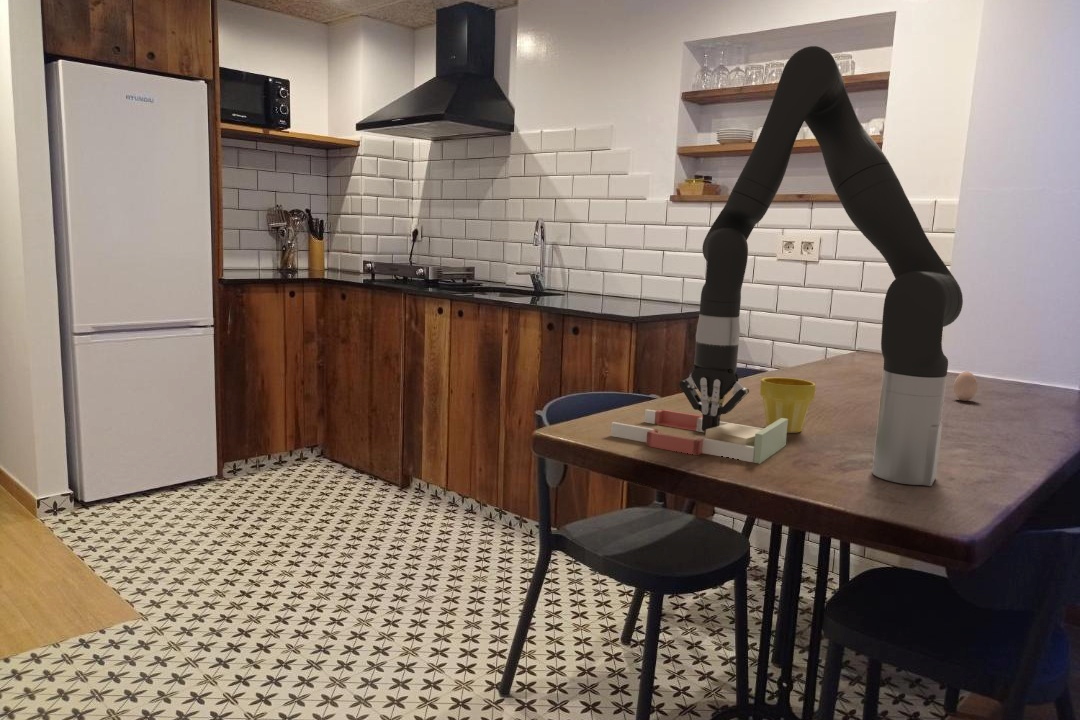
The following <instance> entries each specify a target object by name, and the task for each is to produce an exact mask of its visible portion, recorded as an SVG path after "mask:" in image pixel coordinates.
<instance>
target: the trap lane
mask: <svg viewBox="0 0 1080 720" xmlns="http://www.w3.org/2000/svg"><path fill="white" fill-rule="evenodd" d="M702 418H703V415H699V414H695V413H694V414H692V413H687V412H680V411H675V410H668V409H663V408H662V409H661V408H660V409H658V410H653V409H647V408H646V409H645V410H644V423H648V424H653V425H658V426H666V427H670V428H676V429H682V430H686V431H688V430H689V431H693V432H700V433H704V431H702ZM729 423H731V424H734V423H732V422H727V421H721V420H720V425H719V426H721V425H725V424H729ZM735 424H736V425H740V426H745V427H750V428H754V429H759V430H760V431H759V432H757V433H755V444H754V447H752V446H747V445H741V444H735V443H730V442H724V441H718V440H713V439H707V438H705V437H701V436H700V437H699V438H697V439H694V438H689V437H688V438H687V437H682V436H677V435H672V434H665V433H660V432H659V429H655V428H649V427H644V426H638V425H633V424H626V423H622V422H616V421H612V422H611V424H610V425H611V426H610V427H611V429H610V437H615V438H621V439H625V440H630V441H635V442H642V443H646V447H650V448H657V449H661V450H667V451H673V452H676V451H677V453H681V452H682V454H687V453H688V455H692V454H693V456H697V455H698V456H699V455H701V454H705V455H710V456H711V455H712V456H715V457H716V456H717V457H721V456H723V457H722V458H726V457H729V458H728V459H732V458H734V459H733V460H737V459H739V460H738V461H742V462H743V461H744V462H749V463H755V464H759V465H760V464H762V463H763V462H765V461H766V460H767V459H769V458H770V457H772V456H773V455H774V454H776V453H777V452H779V451H780V450H782V449H783V448H784V447H786V443H787V434H788V433H787V425H788V419H785V418H780V419H779V420H777V421H775V422H774V423H772V424H770V425H769V426H767V425H766V427H764V428H763V427H758V426H751V425H746V424H740V423H739V424H738V423H735Z"/></svg>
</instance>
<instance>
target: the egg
mask: <svg viewBox="0 0 1080 720" xmlns="http://www.w3.org/2000/svg"><path fill="white" fill-rule="evenodd" d="M978 386H979V385H978V381H977V378H976V376H975V375H974V374H973V373H972V372H970V371H963V372H961V373H960V374H959V375H957V377H956V379H955V380H954V383H953V387H952V388H953V392H954V395H955V396H956V398H957V399H958V400H960V401H962V402H968V401H970V400H972V399H973V398H974V397H975V396H976V394H977V393H978V388H979V387H978Z"/></svg>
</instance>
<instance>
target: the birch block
mask: <svg viewBox="0 0 1080 720" xmlns="http://www.w3.org/2000/svg"><path fill="white" fill-rule="evenodd" d="M728 423H729V424H725V425H721V426H717V427H713V428H710V429H706V435H705V434H704V435H705V436H704V438H707V439H713V440H718V441H724V442H730V443H735V444H741V445H747V446H752V447H754V444H755V433H757V432H759V431H760V430H759V429H754V428H750V427H745V426H740V425H741V424H740V425H736V424H737V423H733V424H731V423H732V422H728Z"/></svg>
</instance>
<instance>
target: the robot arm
mask: <svg viewBox="0 0 1080 720" xmlns="http://www.w3.org/2000/svg"><path fill="white" fill-rule="evenodd" d="M842 75H843V74H842V70H841V69H840V67H839V64H838V62H837V60H836V58H835V56H834V55H833V53H831V52H830V51H829V50H828V49H826V48H824V47H822V46H819V45H811V46H806V47H803V48H801V49H799V50H798V51H796V52H794V53H793V54H792V55H791V56H790V57H789V58H788V60H787V62H786V63H785V65H784V67H783V70H782V72H781V75H780V78H779V80H778V85H777V87H776V90H775V93H774V96H773V99H772V102H771V104H770V107H769V110H768V113H767V115H766V118H765V121H764V123H763V125H762V128H761V130H760V133H759V135H758V138H757V139H756V142H755V144H754V146H753V148H752V150H751V152H750V155H749V157H748V159H747V161H746V163H745V165H744V166H743V168H742V170H741V173H740V174H739V176H738V178H737V179H736V181H735V184H734V186H733V188H732V189H731V192H730V193H729V194H730V195H729V196H728V199H727V201H726V202H725V205H724V206H723V208H722V209H721V211H720V212H719V214H718V216H717V217H716V218H715V220H714V222H713V223H712V225H711V226H710V228H709V230H708V232H707V234H706V236H705V238H704V240H703V242H702V254H703V257H704V260H705V261H706V273H705V282H704V284H703V286H702V289H701V293H700V302H699V315H698V316H699V317H698V321H697V324H696V332H695V348H694V352H695V353H694V361H693V362H694V364H693V365H694V366H693V368H692V371H691V373H690V376H689V377H687V378H686V379H683V380H681V381H679V384H678V385H679V387H680V389H681V390H682V392H683V394H684V396H685V397H686V398H687V400H688V402H689V404H690V405H691V407H692V409H694V410H695V411H699V412H700V413H702V414H701V415H702V416H703V418H702V431H704V432H703V433H704V435H706V429H710V428H713V427H717V426H719V425H720V421H721V416H722V415H726V414H728V413H730V412H731V411H733V409H734V408H735V407H736V406H737V405H738V404H739V403H740V402H741V401H742V400H743V399H744V398H745V397H746V396H747V395H748V394H749V392H750V390H749V388H748V387H744V386H743V385H742V384H741V383H740V382H739V376H738V374H737V367H738V355H739V344H740V343H739V342H740V333H741V332H740V331H741V327H740V314H741V302H742V301H741V300H742V295H741V294H742V287H743V283H744V279H745V274H746V270H747V264H748V257H749V246H748V239H749V238H750V237H749V236H751V233H752V232H753V230H754V228H755V227H756V225H757V224H758V223H760V222H761V220H762V219H763V218H764V217H765V215H766V214H767V212H768V210H769V208H770V207H771V205H772V202H773V201H774V198H775V197H776V194H777V193H778V191H779V188H780V186H781V184H782V183H783V180H784V177H785V175H786V171H787V169H788V166H789V162H790V159H791V155H792V152H793V148H794V145H795V142H796V140H797V137H798V135H799V132H800V130H801V128H802V127H803V125H804V123H805V124H806V125H807V126H808V128H809V130H810V132H811V133H812V135H813V137H814V138H815V140H816V141H817V144H818V146H819V148H820V151H821V155H822V157H823V160H824V164H825V168H826V171H827V174H828V176H829V179H830V182H831V185H832V186H833V189H834V192H835V193H836V195H837V197H838V199H839V201H840V203H841V205H842V207H843V209H844V211H845V213H846V214H847V216H848V218H849V219H850V221H851V222H852V223H853V225H854V226H855V227H856V228H857V229H858V230H859V232H860V233H862V235H863V236H864V237H865V238H866V239H867V241H868V242H869V243H870V244H871V245H872V246H874V248H875V249H876V250H877V251H878V252H879V253H880V254H881V256H882V257H883V258H884V260H885V262H886V263H887V265H888V266H889V269H890V270H891V273H892V274H893V276H894V278H895V279H894V280H893V281H892V282H891V284H890V285H889V287H888V289H887V291H886V294H885V297H884V303H883V310H882V323H881V325H882V326H881V339H880V348H881V354H882V357H883V370H882V376H881V377H882V378H881V388H880V393H879V394H880V396H879V403H878V413H877V423H876V424H877V425H876V433H875V441H874V450H873V451H874V452H873V458H872V468H871V470H872V471H871V473H872V475H874V476H875V477H877V478H880V479H882V480H885V481H888V482H893V483H898V484H902V485H903V484H904V485H913V486H914V485H915V486H919V485H920V486H927V487H932V486H933V484H934V482H935V481H936V478H937V473H938V472H937V471H938V462H939V454H940V446H941V445H940V444H941V437H942V431H943V420H942V417H943V409H944V408H943V407H944V401H945V394H946V385H947V377H948V376H947V375H948V369H949V360H948V357H946V355H945V353H944V351H943V346H942V345H943V344H942V343H943V332H944V331H943V330H944V328H945V327H947V326H950V325H951V324H952V323H954V322H955V321H956V320H957V319H958V317H959V316H960V314H961V312H962V310H963V309H962V308H963V304H964V303H963V302H964V301H963V297H964V296H963V293H962V289H961V287H960V284H959V283H958V281H957V280H956V278H955V277H954V275H953V274H952V272H951V271H950V269H949V268H948V266H947V265H946V264H945V262H944V261H943V260H942V258H941V257H940V255H939V254H938V252H937V251H936V249H935V248H934V246H933V245H932V243H931V242H930V240H929V238H928V236H927V235H926V233H925V230H924V228H923V227H922V224H921V223H920V220H919V218H918V216H917V214H916V212H915V210H914V208H913V206H912V204H911V202H910V201H909V199H908V197H907V194H906V193H905V191H904V188H903V186H902V183H901V182H900V179H899V178H898V176H897V174H896V172H895V171H894V168H893V167H892V165H891V163H890V161H889V159H888V158H887V156H886V155H885V153H884V152H883V151H882V149H881V147H880V146H879V145H878V143H877V142H876V141H875V139H874V138H873V137H872V136H871V135H870V134H869V132H867V130H866V129H865V127H864V126H863V125H862V124H861V121H860V120H859V118H858V115H857V114H856V111H855V109H854V106H853V104H852V102H851V99H850V96H849V94H848V91H847V87H846V84H845V81H844V77H843V76H842ZM695 386H696V388H697V389H698V392H699V393H700V395H699V393H698V392H697V391H696V389H695ZM732 389H733V390H732ZM731 390H732V395H733V396H732V397H731V398H729V399H728V400H727V402H726V403H725V404H724V401H725V397H726V395H727V394H729V392H730V391H731ZM723 404H724V405H723Z"/></svg>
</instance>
